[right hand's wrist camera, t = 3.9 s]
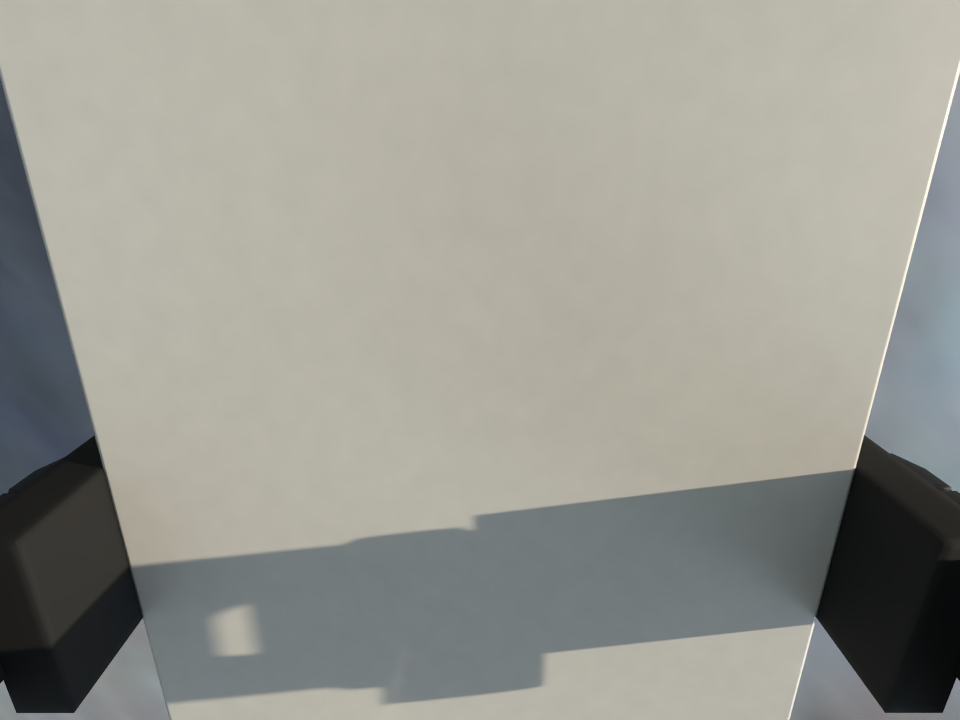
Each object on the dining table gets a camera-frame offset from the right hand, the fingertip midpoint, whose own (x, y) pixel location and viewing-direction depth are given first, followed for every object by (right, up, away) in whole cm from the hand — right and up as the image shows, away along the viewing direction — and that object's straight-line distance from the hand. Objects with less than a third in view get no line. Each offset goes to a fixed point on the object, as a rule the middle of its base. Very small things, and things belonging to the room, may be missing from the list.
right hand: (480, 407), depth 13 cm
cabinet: (0, +8, +3) cm, 9 cm away
